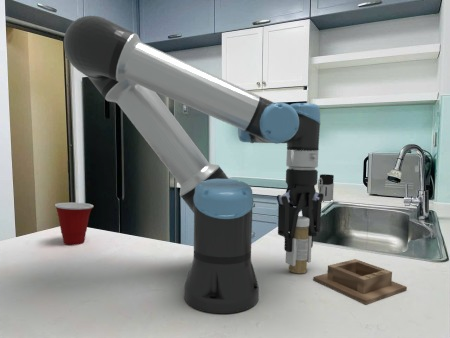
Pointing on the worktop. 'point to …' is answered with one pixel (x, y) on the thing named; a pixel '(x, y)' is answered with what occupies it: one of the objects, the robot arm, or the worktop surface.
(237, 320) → the worktop surface
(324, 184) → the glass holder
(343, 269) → the walnut socket block
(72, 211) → the plastic cup
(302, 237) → the sprinkles bottle
